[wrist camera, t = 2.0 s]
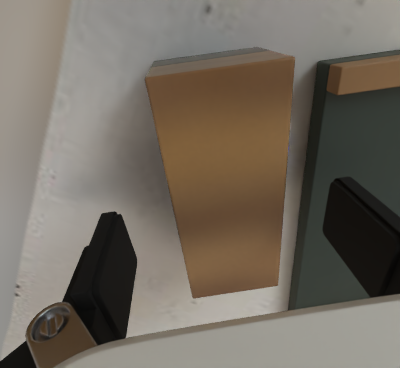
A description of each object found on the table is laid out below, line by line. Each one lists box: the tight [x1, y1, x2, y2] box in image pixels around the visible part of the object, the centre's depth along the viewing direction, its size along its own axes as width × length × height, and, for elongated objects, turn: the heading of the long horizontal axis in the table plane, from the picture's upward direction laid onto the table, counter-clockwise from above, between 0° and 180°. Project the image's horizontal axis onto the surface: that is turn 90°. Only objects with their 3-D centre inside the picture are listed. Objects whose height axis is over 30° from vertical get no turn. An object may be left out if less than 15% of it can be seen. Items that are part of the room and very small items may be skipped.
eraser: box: [145, 47, 295, 298], centre depth 13 cm, size 12×5×4 cm, turn 7°
